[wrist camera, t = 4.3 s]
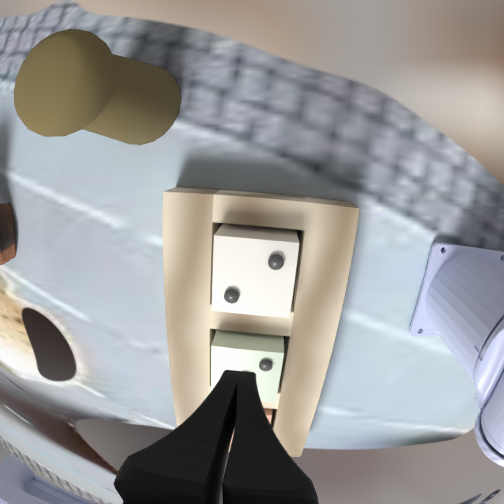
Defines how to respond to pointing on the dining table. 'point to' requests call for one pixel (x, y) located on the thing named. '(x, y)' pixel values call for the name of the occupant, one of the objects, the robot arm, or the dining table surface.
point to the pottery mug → (6, 234)
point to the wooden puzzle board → (294, 328)
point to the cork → (93, 91)
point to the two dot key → (254, 270)
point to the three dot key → (249, 359)
